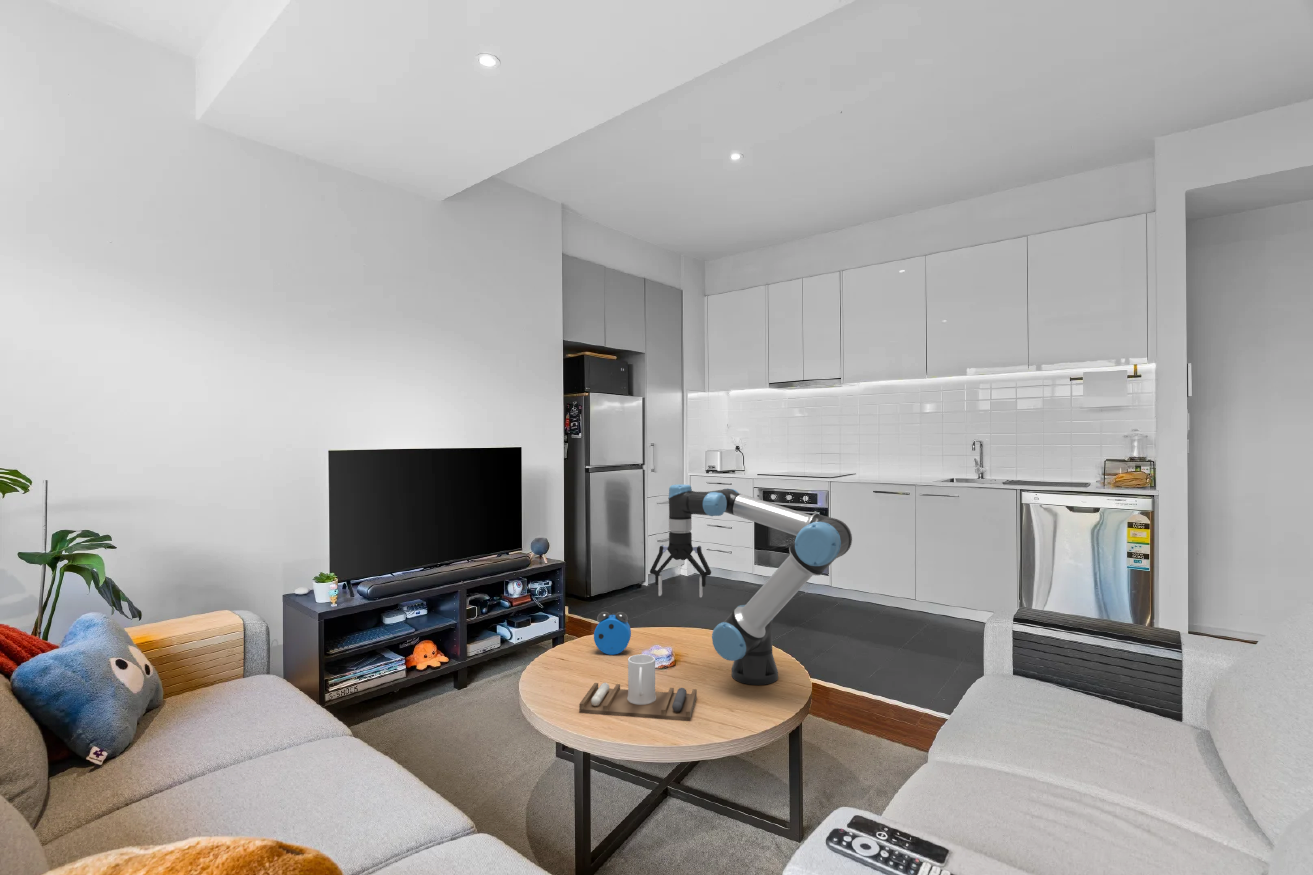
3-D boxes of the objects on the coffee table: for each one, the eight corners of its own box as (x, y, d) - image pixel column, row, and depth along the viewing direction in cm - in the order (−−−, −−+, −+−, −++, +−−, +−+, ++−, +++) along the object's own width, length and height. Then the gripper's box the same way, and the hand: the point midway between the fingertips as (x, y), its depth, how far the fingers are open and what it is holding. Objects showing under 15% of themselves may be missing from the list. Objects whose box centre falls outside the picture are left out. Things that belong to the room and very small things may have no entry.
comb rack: (696, 697, 189) (696, 689, 189) (690, 720, 173) (690, 711, 173) (594, 690, 195) (594, 682, 195) (579, 712, 179) (579, 703, 179)
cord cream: (610, 690, 192) (610, 681, 192) (599, 707, 180) (599, 698, 180) (601, 689, 193) (601, 680, 193) (590, 707, 180) (589, 697, 180)
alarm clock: (631, 650, 232) (631, 610, 232) (629, 656, 226) (628, 614, 226) (596, 649, 233) (596, 609, 234) (593, 655, 227) (593, 613, 227)
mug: (652, 710, 178) (652, 668, 178) (622, 709, 179) (622, 667, 179) (657, 694, 189) (657, 654, 190) (630, 692, 191) (629, 653, 191)
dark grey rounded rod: (687, 695, 188) (687, 686, 188) (681, 713, 176) (681, 703, 176) (677, 695, 189) (677, 685, 189) (671, 713, 176) (671, 703, 176)
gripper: (718, 530, 208) (719, 594, 208) (645, 529, 212) (645, 591, 212) (717, 533, 201) (717, 599, 201) (641, 532, 205) (641, 596, 205)
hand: (680, 595), depth 206 cm, fingers open, 13 cm apart
